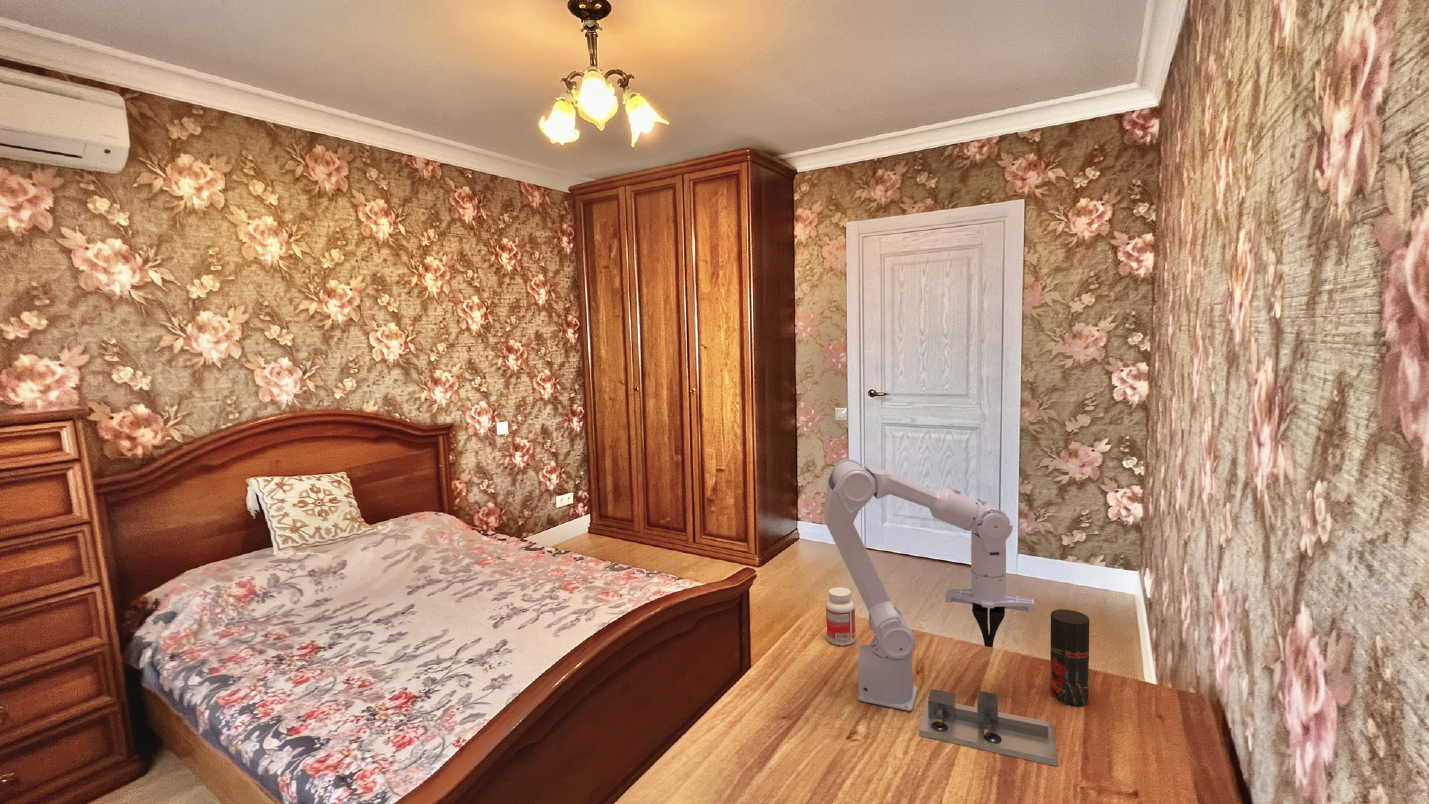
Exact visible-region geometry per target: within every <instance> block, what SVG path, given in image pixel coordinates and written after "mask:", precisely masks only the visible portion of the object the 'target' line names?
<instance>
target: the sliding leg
mask: <svg viewBox="0 0 1429 804" xmlns="http://www.w3.org/2000/svg"><path fill="white" fill-rule="evenodd" d="M976 703H977V707H976V708H977V712H978V721H983V722H984V735H986V736H990V723H993V724H997V725H998V712H999V694H998V693H995V692H990V691H989V692H988V691H983V690H978V693H977V702H976Z"/></svg>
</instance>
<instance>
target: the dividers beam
mask: <svg viewBox="0 0 1429 804" xmlns="http://www.w3.org/2000/svg"><path fill="white" fill-rule="evenodd" d="M928 698H929V699H928V718H933V719H937V725H939V726H942V721H947V722H952V723H954V719H957V720H962V721H967V722H972V723H976V724H981V725H984V722H983V721H978V713H977V712H972V711H967V710H962V709H957V708H956V704H957V703H956V692H951V691H945V690H941V689H936V688H935V689H934V688H930V692H929V696H928ZM990 726H991V727H996V728H1001V729H1005V730H1010V731H1015V732H1020V733H1025V734H1030V735H1034V736H1039V737H1044V738H1048V727H1047V726H1042V725H1037V724H1032V723H1027V722H1022V721H1017V720H1012V719H1007V718H1002V717H998V725H997V724H993V723H990Z"/></svg>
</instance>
